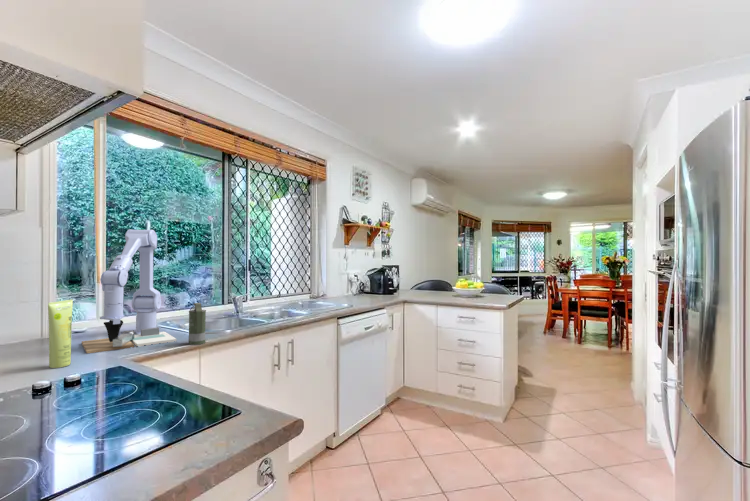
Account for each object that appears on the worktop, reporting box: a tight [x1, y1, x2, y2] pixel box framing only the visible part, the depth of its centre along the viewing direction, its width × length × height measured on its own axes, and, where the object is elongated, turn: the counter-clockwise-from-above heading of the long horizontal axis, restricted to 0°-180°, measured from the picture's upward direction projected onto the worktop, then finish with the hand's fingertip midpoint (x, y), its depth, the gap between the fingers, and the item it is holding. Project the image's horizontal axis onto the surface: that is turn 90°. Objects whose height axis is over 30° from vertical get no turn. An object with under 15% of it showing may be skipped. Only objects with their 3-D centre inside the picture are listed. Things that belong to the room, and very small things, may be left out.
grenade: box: [187, 302, 207, 346], centre depth 141 cm, size 6×6×15 cm
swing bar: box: [113, 330, 135, 347], centre depth 137 cm, size 14×4×3 cm, turn 17°
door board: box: [131, 326, 178, 347], centre depth 146 cm, size 18×13×3 cm
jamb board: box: [81, 337, 135, 355], centre depth 137 cm, size 18×14×1 cm
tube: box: [47, 298, 74, 369], centre depth 111 cm, size 6×5×20 cm
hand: (113, 341), depth 134 cm, fingers closed
